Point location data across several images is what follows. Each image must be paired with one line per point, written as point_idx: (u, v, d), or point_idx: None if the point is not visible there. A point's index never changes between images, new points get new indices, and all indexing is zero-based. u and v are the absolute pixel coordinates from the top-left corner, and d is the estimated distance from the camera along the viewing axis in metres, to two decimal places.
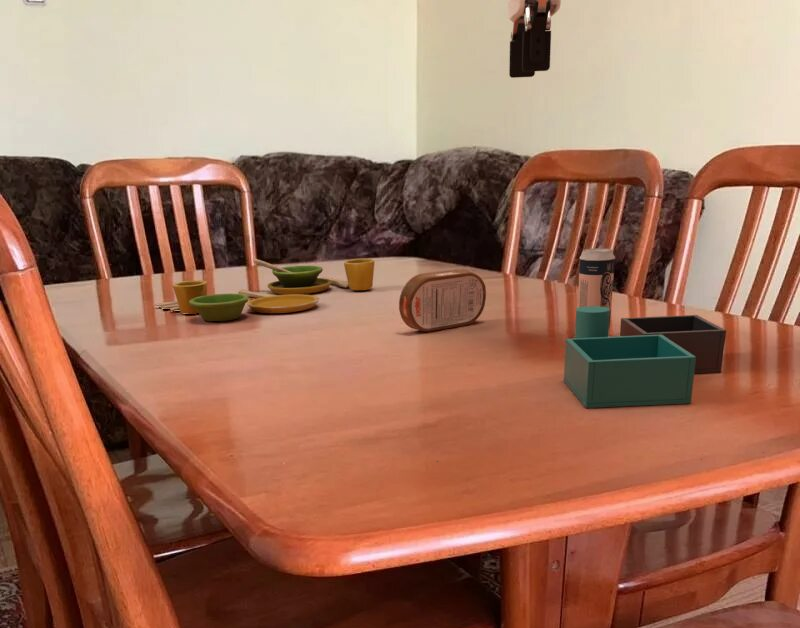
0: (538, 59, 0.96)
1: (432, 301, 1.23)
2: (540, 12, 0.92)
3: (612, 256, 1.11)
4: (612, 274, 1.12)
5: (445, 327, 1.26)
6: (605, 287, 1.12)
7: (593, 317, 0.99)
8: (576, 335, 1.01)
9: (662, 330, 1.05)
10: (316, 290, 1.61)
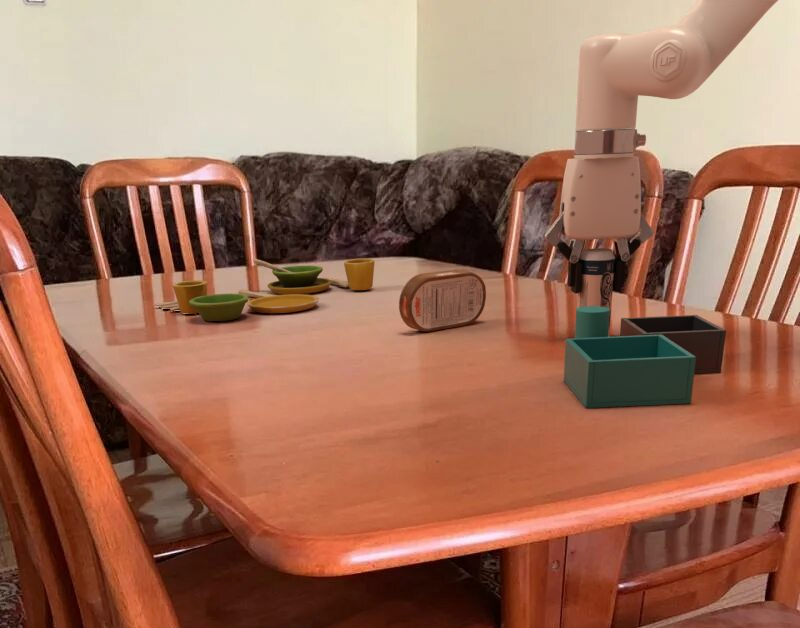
0: None
1: (432, 301, 1.23)
2: None
3: (612, 256, 1.11)
4: (612, 274, 1.12)
5: (445, 327, 1.26)
6: (605, 287, 1.12)
7: (593, 317, 0.99)
8: (576, 335, 1.01)
9: (662, 330, 1.05)
10: (316, 290, 1.61)
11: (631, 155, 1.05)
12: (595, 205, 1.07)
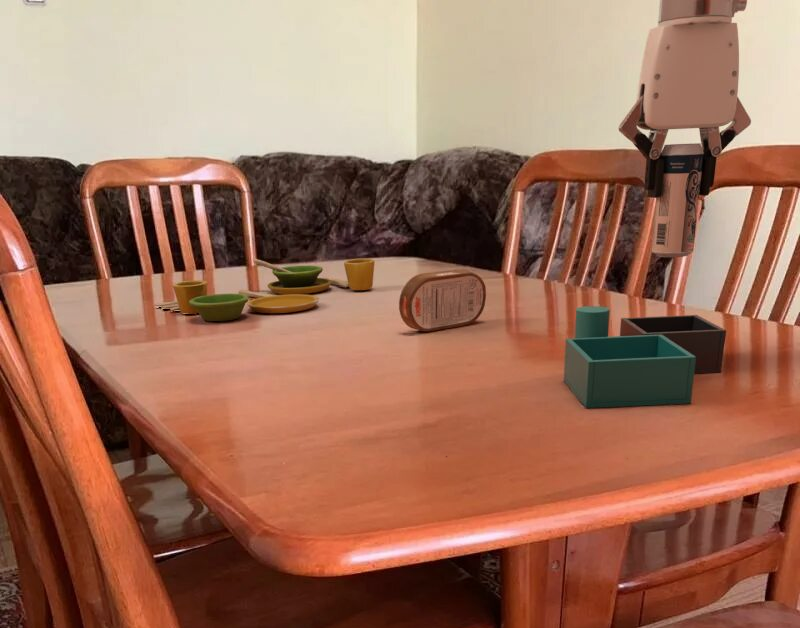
0: None
1: (432, 301, 1.23)
2: None
3: (701, 150, 0.92)
4: (700, 173, 0.93)
5: (445, 327, 1.26)
6: (691, 188, 0.93)
7: (593, 317, 0.99)
8: (576, 335, 1.01)
9: (662, 330, 1.05)
10: (316, 290, 1.61)
11: (730, 20, 0.86)
12: (684, 84, 0.88)
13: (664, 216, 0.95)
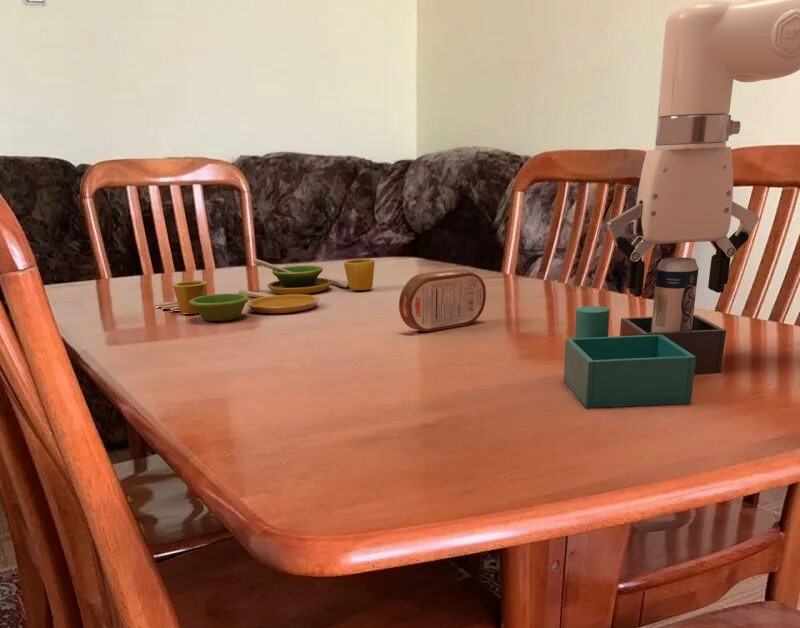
0: None
1: (432, 301, 1.23)
2: None
3: (696, 266, 0.96)
4: (695, 287, 0.97)
5: (445, 327, 1.26)
6: (687, 302, 0.97)
7: (593, 317, 0.99)
8: (576, 335, 1.01)
9: None
10: (316, 290, 1.61)
11: (724, 145, 0.90)
12: (680, 203, 0.92)
13: (661, 326, 0.99)
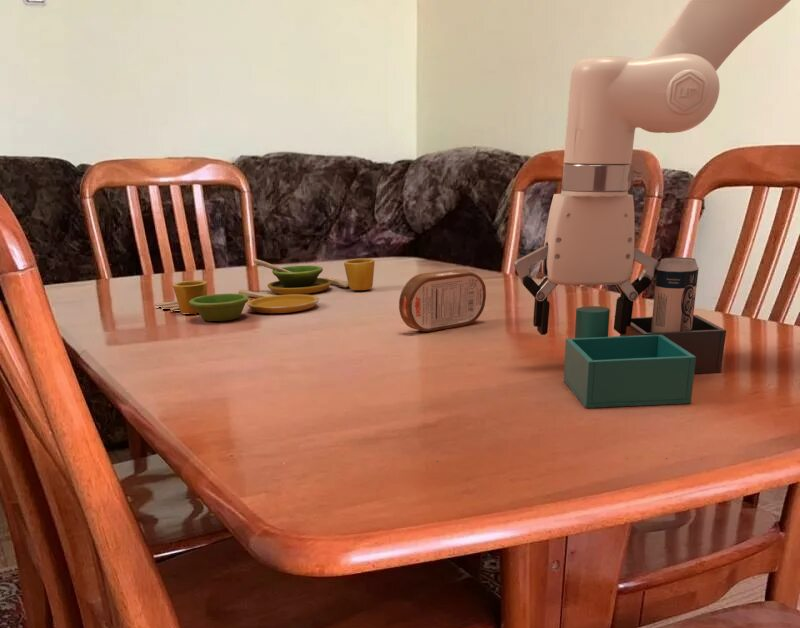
0: None
1: (432, 301, 1.23)
2: None
3: (696, 266, 0.96)
4: (695, 287, 0.97)
5: (445, 327, 1.26)
6: (687, 302, 0.97)
7: (593, 317, 0.99)
8: (576, 335, 1.01)
9: None
10: (316, 290, 1.61)
11: (625, 194, 0.93)
12: (583, 248, 0.95)
13: (661, 326, 0.99)
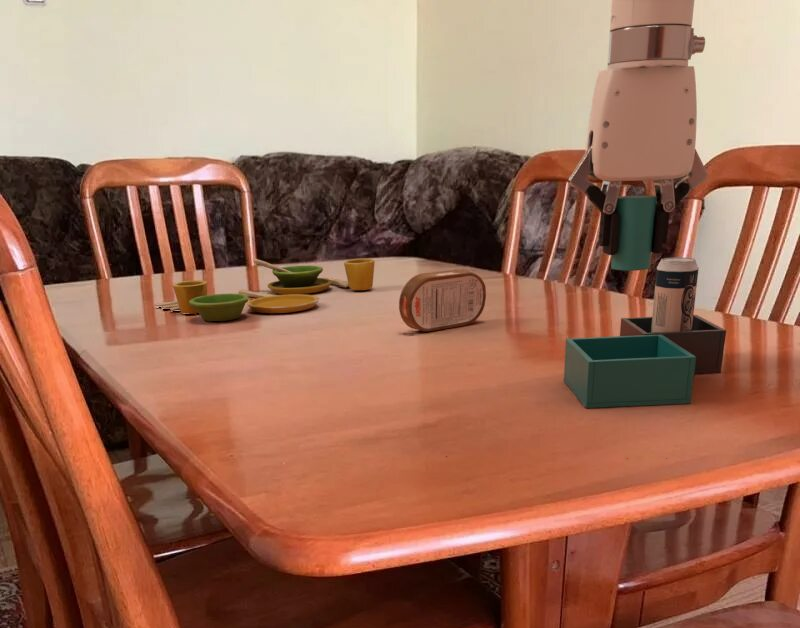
0: None
1: (432, 301, 1.23)
2: None
3: (696, 266, 0.96)
4: (695, 287, 0.97)
5: (445, 327, 1.26)
6: (687, 302, 0.97)
7: (637, 204, 0.83)
8: None
9: None
10: (316, 290, 1.61)
11: (685, 63, 0.78)
12: (635, 133, 0.80)
13: (661, 326, 0.99)
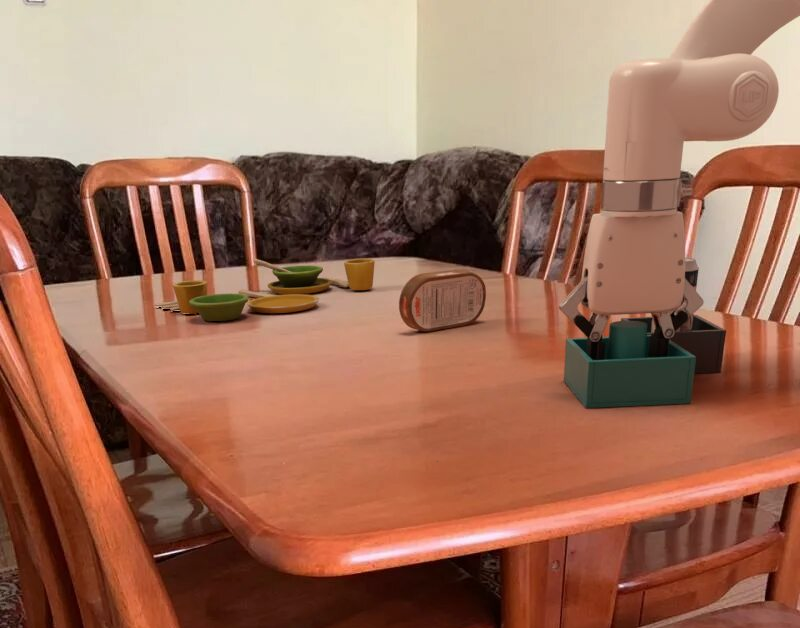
0: None
1: (432, 301, 1.23)
2: None
3: (696, 266, 0.96)
4: (695, 287, 0.97)
5: (445, 327, 1.26)
6: None
7: (630, 333, 0.88)
8: (609, 353, 0.90)
9: None
10: (316, 290, 1.61)
11: (674, 212, 0.83)
12: (628, 273, 0.85)
13: None
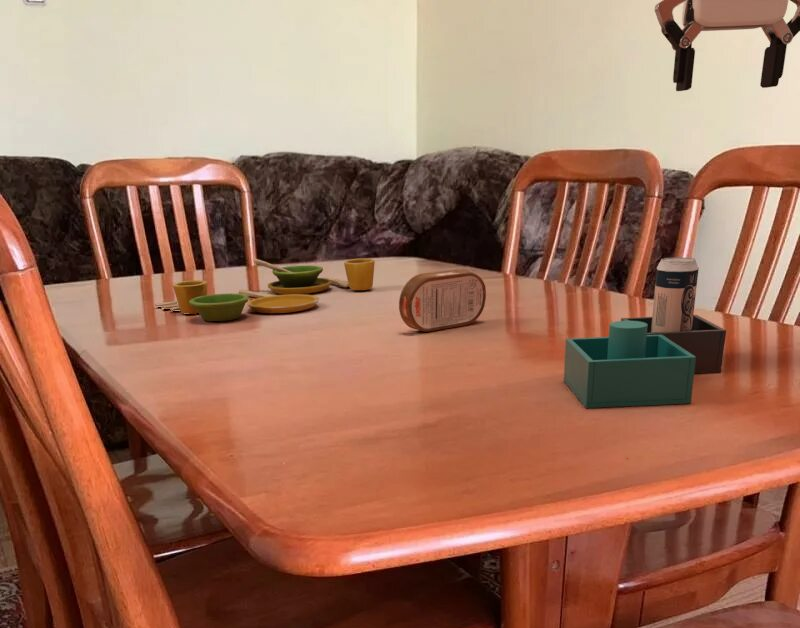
0: None
1: (432, 301, 1.23)
2: None
3: (696, 266, 0.96)
4: (695, 287, 0.97)
5: (445, 327, 1.26)
6: (687, 302, 0.97)
7: (630, 333, 0.88)
8: (609, 353, 0.90)
9: None
10: (316, 290, 1.61)
11: None
12: None
13: (661, 326, 0.99)
